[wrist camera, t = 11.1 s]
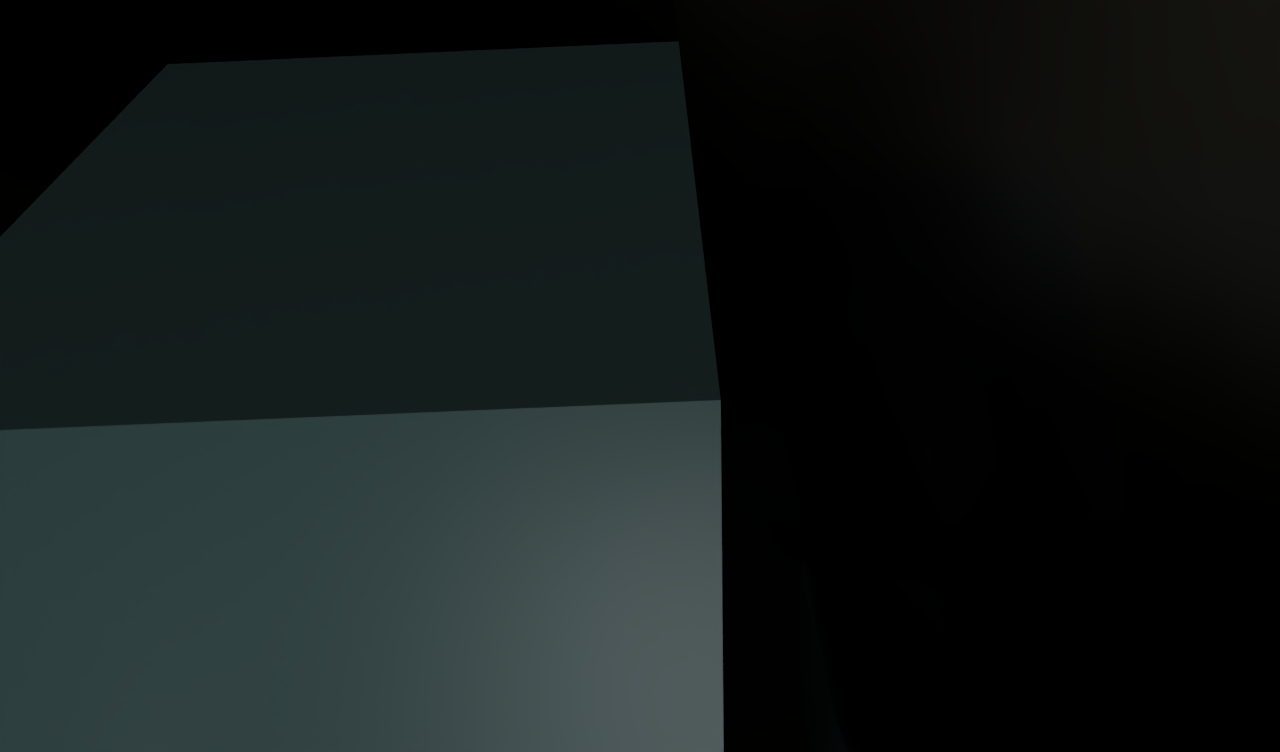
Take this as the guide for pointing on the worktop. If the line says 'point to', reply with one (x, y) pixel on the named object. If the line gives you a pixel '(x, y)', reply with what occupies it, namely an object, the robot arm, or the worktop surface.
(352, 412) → the dark grey-teal rectangular block
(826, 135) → the worktop surface
